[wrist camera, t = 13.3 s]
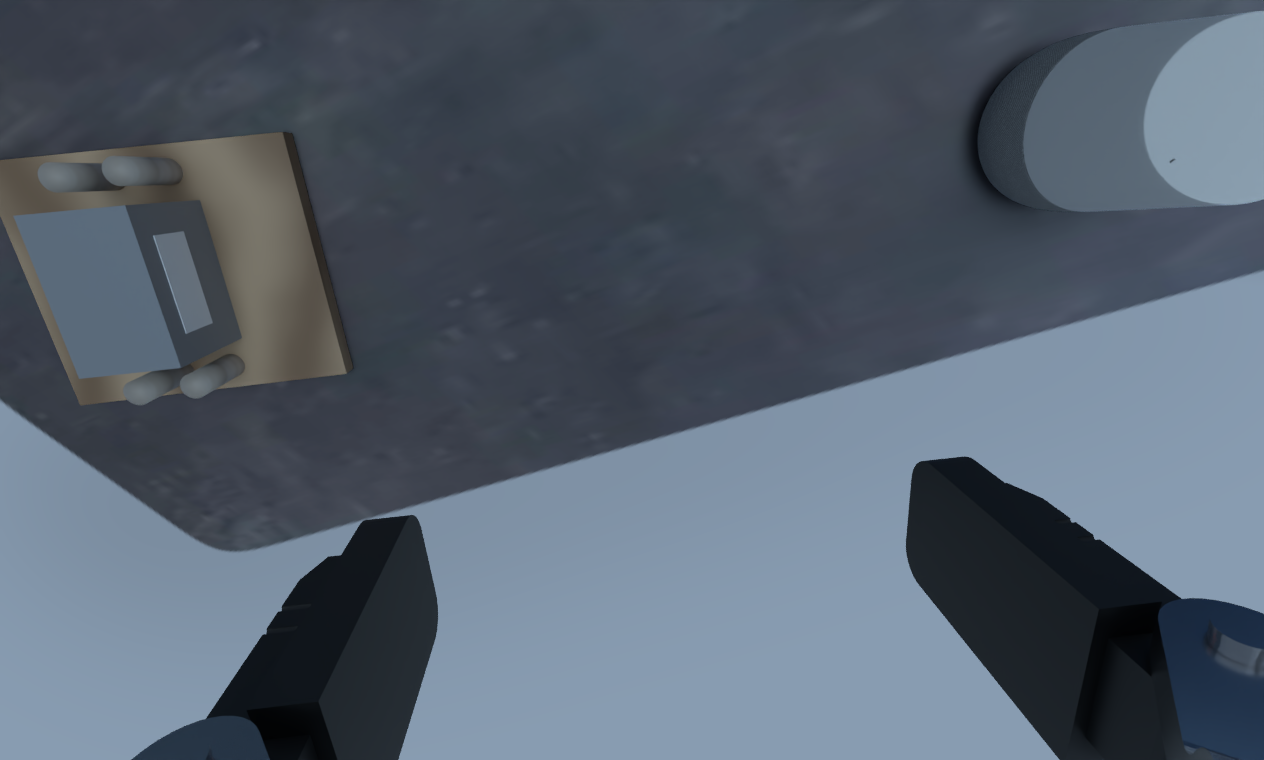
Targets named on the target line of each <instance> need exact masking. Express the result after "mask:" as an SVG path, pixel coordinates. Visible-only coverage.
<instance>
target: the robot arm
mask: <svg viewBox="0 0 1264 760" xmlns="http://www.w3.org/2000/svg"><path fill="white" fill-rule="evenodd" d="M906 552H907V558H908V562H909V566H910V569H911V571H912V574H913V576H914V578H915V579H916V581H917V583H918V584H919V585H920V587H921V588H922V589H923V590H924V592H925V593H926V594H927V595H928V597H929V598H930V599H931V600H932V601H933V603H934V604H935V605H936V606H937V608H938V609H939V610H940V611H941V613H942V614H943V615H944V616H945V618H946V619H947V620H948V621H949V622H950V624H951V625H952V626H953V627H954V629H955V630H956V631H957V633H958V634H959V635H960V636H961V638H962V639H963V640H964V641H965V643H966V644H967V645H968V646H969V648H970V649H971V650H972V651H973V653H974V654H975V655H976V656H977V657H978V659H979V660H980V661H981V662H982V664H983V665H984V666H985V667H986V668H987V670H988V671H989V672H990V674H991V675H992V676H993V677H994V679H995V680H996V681H997V682H998V684H999V685H1000V686H1001V687H1002V689H1003V690H1004V691H1005V692H1006V694H1007V695H1008V696H1009V697H1010V699H1011V700H1012V701H1013V702H1014V703H1015V705H1016V706H1017V707H1018V708H1019V710H1020V711H1021V712H1022V713H1023V715H1024V716H1025V717H1026V718H1027V720H1028V721H1029V722H1030V723H1031V725H1033V727H1034V728H1035V730H1036V731H1037V732H1038V733H1039V735H1040V736H1041V737H1042V738H1043V740H1044V741H1045V742H1046V743H1047V745H1048V746H1049V747H1050V748H1051V750H1052V751H1053V752H1054V753H1055V755H1056V756H1057V757H1058V758H1059V759H1060V760H1264V614H1263V613H1260V612H1258V611H1255V610H1252V609H1249V608H1246V607H1242V606H1238V605H1235V604H1231V603H1227V602H1222V601H1217V600H1209V599H1199V598H1189V599H1181V598H1180V597H1178V596H1177V595H1175V594H1174V593H1172V592H1171V591H1170V590H1169V589H1167V588H1166V587H1164V586H1163V585H1162V584H1160V583H1159V582H1157V581H1156V580H1155V579H1153V578H1152V577H1150V576H1149V575H1148V574H1146V573H1145V572H1144V571H1142V570H1141V569H1140V568H1138V567H1137V566H1135V565H1134V564H1133V563H1131V562H1130V561H1128V560H1127V559H1126V558H1124V557H1123V556H1122V555H1120V554H1119V553H1117V552H1116V551H1115V550H1113V549H1112V548H1111V547H1109V546H1108V545H1106V544H1105V543H1104V542H1102V541H1101V540H1095V539H1094V537H1093V534H1091V533H1090V532H1088V531H1087V530H1086V529H1084V528H1083V527H1081V526H1080V525H1079V524H1077V523H1076V522H1075V523H1071V521H1070V518H1069V517H1068V516H1066V515H1065V514H1064V513H1062V512H1061V511H1059V510H1058V509H1057V508H1055V507H1054V506H1052V505H1051V504H1050V503H1048V502H1047V501H1046V500H1044V499H1043V498H1040V497H1038V496H1036V495H1034V494H1031V493H1029V492H1027V491H1024V490H1022V489H1019V488H1017V487H1015V486H1013V485H1010V484H1008V483H1004V482H1003V481H1001V480H1000V479H999V478H997V477H996V476H995V475H993V474H992V473H991V472H989V471H988V470H987V469H986V468H984V467H983V466H982V465H980V464H979V463H978V462H976V461H975V460H973V459H972V458H969V457H957V458H948V459H938V460H929V461H921V462H919V463H917V464H916V466H915V467H914V469H913V473H912V480H911V491H910V503H909V515H908V526H907V538H906ZM437 624H438V605H437V597H436V592H435V588H434V583H433V579H432V574H431V570H430V565H429V561H428V556H427V552H426V548H425V543H424V539H423V534H422V530H421V526H420V524H419V521H418V519H417V518H416V517H415V516H414V515H410V516H400V517H390V518H381V519H372V520H365V521H363V522H362V523H361V524H360V525H359V527H358V529H357V530H356V532H355V533H354V535H353V537H352V538H351V540H350V542H349V543H348V545H347V547H346V548H345V550H344V552H343V553H342V555H340V556H331V557H327V558H326V559H325V560H324V561H323V562H321V563H320V564H319V565H318V566H316V567H315V568H314V569H313V570H312V571H310V572H309V573H308V574H307V575H305V576H304V577H303V578H302V579H300V581H299V582H298V583H297V585H296V586H295V588H294V589H293V591H292V592H291V594H290V595H289V597H288V598H287V599H286V601H285V602H284V604H283V605H282V611H281V612H278V613H277V614H276V616H275V617H274V619H273V620H272V622H271V623H270V625H269V626H268V628H267V634H266V635H262V637H261V638H260V639H259V641H258V643H257V644H256V645H255V647H254V648H253V650H252V651H251V653H250V654H249V656H248V657H247V659H246V660H245V662H244V663H243V665H242V666H241V668H240V669H239V671H238V672H237V674H236V675H235V677H234V678H233V680H232V681H231V682H230V684H229V685H228V687H227V688H226V690H225V691H224V693H223V694H222V696H221V697H220V699H219V700H218V702H217V703H216V705H215V706H214V708H213V709H212V711H211V712H210V714H209V715H208V716H207V718H206V719H204V720H200V721H197V722H195V723H192V724H189V725H186V726H184V727H182V728H180V729H178V730H176V731H173V732H171V733H170V734H168V735H166V736H165V737H163V738H161V739H159V740H157V741H156V742H155V743H153V744H151V745H150V746H149V747H147V748H146V749H144V750H143V751H142V752H140V753H139V754H138V755H137V756H135V757H134V758H133V759H132V760H398V759H399V755H400V752H401V748H402V745H403V742H404V739H405V736H406V732H407V729H408V726H409V723H410V719H411V716H412V713H413V710H414V706H415V703H416V700H417V697H418V693H419V690H420V687H421V683H422V680H423V677H424V674H425V670H426V667H427V664H428V661H429V657H430V654H431V651H432V647H433V644H434V641H435V637H436V632H437Z"/></svg>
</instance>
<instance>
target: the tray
mask: <svg viewBox="0 0 1264 760" xmlns="http://www.w3.org/2000/svg"><path fill="white" fill-rule="evenodd" d="M194 200H200V202H201V205H202V208H203V211H204V215H205V218H206V221H207V224H208V228H209V231H210V234H211V238H212V241H213V244H214V247H215V251H216V254H217V257H218V260H219V264H220V267H221V270H222V273H223V277H224V280H225V283H226V287H227V290H228V293H229V296H230V300H231V303H232V306H233V309H234V313H235V316H236V319H237V322H238V326H239V329H240V332H241V336H242V338H241V339H239V340H237V341H235V342H233V343H231V344H229V345H227V346H225V347H223V348H221V349H219V350H217V351H215V352H213V353H211V354H209V355H207V356H205V357H203V358H201V359H199V360H197V361H194V362H192V363H190V364H188V365H186V366H184V367H182V368H177V369H167V370H158V371H148V372H139V373H130V374H120V375H111V376H102V377H92V378H83V379H79V377H78V375H77V372H76V370H75V367H74V365H73V362H72V360H71V357H70V355H69V352H68V350H67V347H66V345H65V342H64V340H63V338H62V335H61V333H60V330H59V328H58V325H57V323H56V320H55V318H54V315H53V313H52V310H51V308H50V305H49V303H48V300H47V298H46V296H45V293H44V291H43V288H42V286H41V283H40V281H39V278H38V276H37V273H36V271H35V268H34V266H33V263H32V261H31V258H30V256H29V254H28V251H27V249H26V246H25V244H24V241H23V239H22V236H21V234H20V231H19V229H18V226H17V224H16V221H15V219H14V216H16V215H27V214H38V213H48V212H59V211H70V210H80V209H91V208H102V207H112V206H123V205H137V204H151V203H165V202H179V201H194ZM0 216H1V219H2V221H3V223H4V226H5V228H6V230H7V233H8V235H9V238H10V240H11V242H12V245H13V247H14V249H15V252H16V254H17V256H18V259H19V261H20V264H21V266H22V268H23V271H24V273H25V275H26V278H27V280H28V283H29V285H30V287H31V290H32V292H33V294H34V297H35V299H36V301H37V304H38V306H39V309H40V311H41V313H42V316H43V318H44V320H45V323H46V325H47V328H48V330H49V332H50V335H51V337H52V339H53V342H54V344H55V346H56V349H57V351H58V354H59V356H60V358H61V361H62V363H63V365H64V368H65V370H66V373H67V375H68V377H69V380H70V382H71V384H72V387H73V389H74V391H75V394H76V396H77V399H78V401H79V403H80V405H87V404H96V403H104V402H113V401H121V400H128V401H129V402H131V403H133V404H136V405H144V404H147V403H148V402H150V401H152V400H154V399H156V398H158V397H160V396H163V395H172V394H180V393H184V394H185V395H187V396H188V397H191V398H201V397H203V396H205V395H206V394H208V393H210V392H212V391H213V390H215V389H222V388H231V387H239V386H248V385H256V384H265V383H273V382H282V381H290V380H299V379H307V378H315V377H324V376H332V375H341V374H347V373H348V372H349V371H350V370H352V369H353V365H352V361H351V357H350V353H349V350H348V346H347V342H346V338H345V334H344V330H343V327H342V323H341V319H340V315H339V311H338V307H337V304H336V300H335V296H334V292H333V288H332V284H331V281H330V277H329V273H328V269H327V265H326V261H325V258H324V254H323V250H322V246H321V242H320V238H319V235H318V231H317V227H316V223H315V219H314V215H313V212H312V208H311V204H310V200H309V196H308V192H307V189H306V185H305V181H304V177H303V173H302V169H301V166H300V162H299V158H298V154H297V150H296V146H295V143H294V139H293V135H292V133H286V132H277V133H267V134H257V135H247V136H237V137H227V138H218V139H208V140H198V141H188V142H178V143H168V144H158V145H148V146H138V147H128V148H118V149H108V150H98V151H88V152H78V153H68V154H58V155H48V156H38V157H28V158H18V159H8V160H0Z"/></svg>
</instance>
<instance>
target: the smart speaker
mask: <svg viewBox="0 0 1264 760" xmlns="http://www.w3.org/2000/svg"><path fill="white" fill-rule="evenodd" d="M978 154H979V159H980V162H981V166H982V168H983V171H984V172H985V174H986V176H987V178H988V179H989V181H990V182H991V184H992V185H993V186H994V187H995V188H996V189H997V190H998V191H999V192H1000V193H1002V194H1003V195H1004V196H1006V197H1008V198H1009V199H1011V200H1013V201H1015V202H1017V203H1020V204H1022V205H1024V206H1028V207H1031V208H1035V209H1040V210H1047V211H1059V212H1095V211H1116V210H1138V209H1159V208H1181V207H1202V206H1224V205H1239V204H1246V203H1251V202H1256V201H1259V200H1263V199H1264V11H1254V12H1245V13H1236V14H1228V15H1219V16H1210V17H1202V18H1193V19H1185V20H1176V21H1167V22H1159V23H1150V24H1142V25H1133V26H1124V27H1117V28H1111V29H1106V30H1101V31H1095V32H1091V33H1086V34H1082V35H1078V36H1075V37H1071V38H1068V39H1065V40H1062V41H1060V42H1057V43H1055V44H1052V45H1050V46H1048V47H1046V48H1044V49H1042V50H1040V51H1039V52H1037V53H1035V54H1033V55H1032V56H1030V57H1029V58H1027V59H1026V60H1024V61H1023V62H1022V63H1020V64H1019V65H1018V66H1017V67H1015V68H1014V69H1013V70H1012V71H1011V72H1010V73H1009V74H1008V75H1007V76H1006V77H1005V78H1004V79H1003V80H1002V82H1001V83H1000V84H999V85H998V87H997V88H996V90H995V91H994V92H993V94H992V96H991V97H990V99H989V101H988V103H987V105H986V107H985V109H984V112H983V115H982V118H981V121H980V125H979V130H978Z"/></svg>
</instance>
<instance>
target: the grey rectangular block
mask: <svg viewBox="0 0 1264 760" xmlns="http://www.w3.org/2000/svg"><path fill="white" fill-rule="evenodd" d="M14 219H15V221H16V224H17V226H18V229H19V231H20V234H21V236H22V239H23V241H24V244H25V246H26V249H27V251H28V254H29V256H30V258H31V261H32V263H33V266H34V268H35V271H36V273H37V276H38V278H39V281H40V283H41V286H42V288H43V291H44V293H45V296H46V298H47V300H48V303H49V305H50V308H51V310H52V313H53V315H54V318H55V320H56V323H57V325H58V328H59V330H60V333H61V335H62V338H63V340H64V342H65V345H66V347H67V350H68V352H69V355H70V357H71V360H72V362H73V365H74V367H75V370H76V372H77V375H78V377H79V379H83V378H92V377H102V376H111V375H120V374H130V373H139V372H148V371H158V370H167V369H177V368H182V367H184V366H186V365H188V364H190V363H192V362H194V361H197V360H199V359H201V358H203V357H205V356H207V355H209V354H211V353H213V352H215V351H217V350H219V349H221V348H223V347H225V346H227V345H229V344H231V343H233V342H235V341H237V340H239V339H241V338H242V336H241V332H240V329H239V326H238V322H237V319H236V316H235V313H234V309H233V306H232V303H231V300H230V296H229V293H228V290H227V287H226V283H225V280H224V277H223V273H222V270H221V267H220V264H219V260H218V257H217V254H216V251H215V247H214V244H213V241H212V238H211V234H210V231H209V228H208V224H207V221H206V218H205V215H204V211H203V208H202V205H201V202H200V200H194V201H179V202H165V203H151V204H137V205H123V206H112V207H102V208H91V209H80V210H70V211H59V212H48V213H38V214H27V215H16V216H14Z"/></svg>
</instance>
